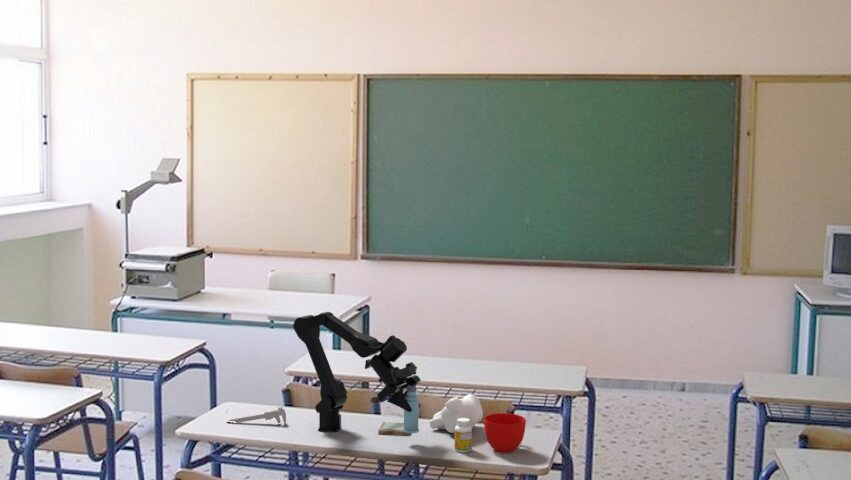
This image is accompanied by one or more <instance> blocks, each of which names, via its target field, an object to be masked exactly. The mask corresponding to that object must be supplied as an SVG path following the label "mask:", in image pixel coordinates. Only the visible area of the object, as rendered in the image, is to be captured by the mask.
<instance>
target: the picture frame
mask: <svg viewBox="0 0 851 480" xmlns="http://www.w3.org/2000/svg"><path fill="white" fill-rule="evenodd" d="M403 428H404V422H392V421H391V422H387V421H383V422H382V423H381V426H380V427H379V428H378V431H377V432H378V435H389V436H390V435H393V436H410V434H411V433H405V432H403Z"/></svg>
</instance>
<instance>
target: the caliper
mask: <svg viewBox="0 0 851 480" xmlns="http://www.w3.org/2000/svg"><path fill="white" fill-rule="evenodd" d="M280 416H281V418H282V421H283V424H284V423H285V424H286V423H287V413H286V410H285V408H283V405H282V406H281V407H280V406H277V409H276V410H269V411H265V412H264V413H259V414H254V415H246V416H241V417H235V418H229V420H228V421H235V422H239V423H244V422H245V423H246V422H248V421H249V422H250V421H255V420H262V419H265V421H268V420H272V419H275V421H276V422H277V424H278V423H280V422H281V418H280ZM281 423H282V422H281Z"/></svg>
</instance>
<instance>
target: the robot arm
mask: <svg viewBox="0 0 851 480" xmlns="http://www.w3.org/2000/svg"><path fill="white" fill-rule="evenodd" d="M292 326H293V330H294V332H295V334H296V336H297V337H298V339H299V340H300V341H301V342H303V343H304V344H305V347H306V350H307V352H308V354H309V356H310V359H311V362H312V364H313V367H314V369H315V373H316V376H317V378H318V380H319V383H320V392H319V395H320V399H321V400H320V401H319V402H318V403H317V404H316V405H315V406H314V407H315V412H316V414H319V416H318V418H319V419H318V420H319V425H318V426H319V427H318V429H317V431H320V432H338V431H339V430H340V429H341V427H342V414H341V412H340V411H341V410H343V407H344V405H345V404H346V402H347V399H348V393H349V392H348V391H347V389H346V387H345V383H344V381H340V382H338V380H337V379H336V378H335V376H334V373H333V371H332V368H331V366H330V363H329V361H328V358H327V355H326V353H325V350H324V347H323V345H322V341H321V339H320V335H321V327H322V326H323V327H325V328H326V329H327V330H329V331H330V332H332V333H333V334H334V335H336V336H338V337H339V338H341V339H342V340H344V341H345V342H347V343H348V344H349V346H350V347H351V350H352V351H353V352H354V353H355V354H357V355H358V356H359V357H360V358H363V359H365V358H368V357H371V356H372V357H371V358H370V359H366V360H365V365H364V369H365V370H367V369H371V368H372V369H373V371H374V372H375V374H376V375H377V376H378V378H379V379H378V380H377V381H378V383H381V384H382V383H383V384H384V387H383V388H382V389H381V390H380V391H379V392H377V394H376V399H377V400H378V402H379V403H384V402H387V403H390V404H392V405H394V406H395V407H396V406H397V407H399V408H400V409H402V410H403V411H404V410H406V411H408V412H411V411H412V409H411V407H410V405H409V404H408V402H407V400H406V399H405V396H406V395H407V390H406V388H407V387H410V386H413V387H417V385H418V384H419V383H420V382H421V381H422V379H421V378H420V377H419V375H417V369H418V367H417V365H416V364H414V362H412V361H410V362H408V363H405V367H403V368H400V367H398V366H394V365H393V364H392V363H395V362H397V360H398V359H400V357H402V356H403V354H405V353H406V351H408V347H407V345H406V343H405V342H404V341H403V340H401V338H398V337H396V336H395V335H394V334H391V335H390V336H388V338H387V339H386V340H385V342H382V341H379V340H378V339H377V338H376V337H374V336H371V335H370V334H365V333H362V332H359V331H358V330H356V329H355V328H353V327H351V326H350V325H349V324H347V323H346V322H344V321H343V320H341V319H340V318H338V317H337V316H335V315H334V313H332V312H331V311H325V312H320V313H319V314H317V315H313V314H309V315H304V316H301V317H296V319H295V320H294V321H293V324H292ZM378 353H379V354H378ZM387 398H388V400H387ZM420 408H421V406H420V404H419V409H420Z"/></svg>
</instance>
